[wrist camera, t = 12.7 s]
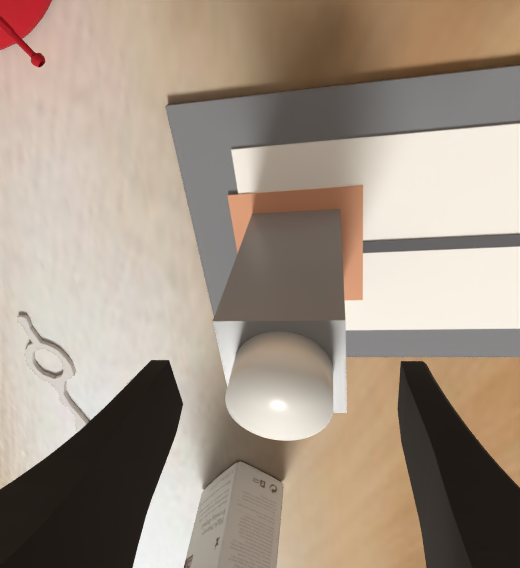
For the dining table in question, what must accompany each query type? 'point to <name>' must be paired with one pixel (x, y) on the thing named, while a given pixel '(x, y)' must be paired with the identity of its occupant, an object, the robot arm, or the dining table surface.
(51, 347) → the scissors
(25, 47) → the alarm clock
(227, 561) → the skincare box
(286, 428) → the grey post with dome
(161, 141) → the dining table surface
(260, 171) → the mat
